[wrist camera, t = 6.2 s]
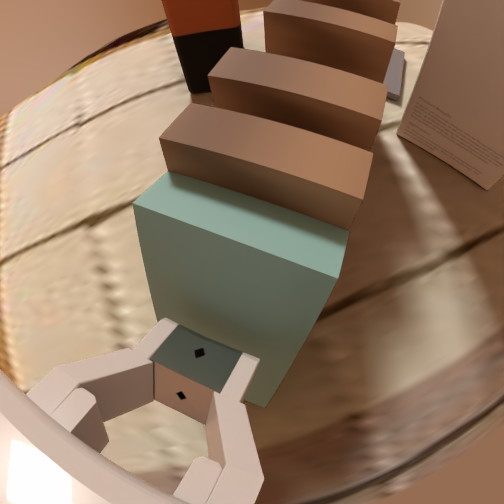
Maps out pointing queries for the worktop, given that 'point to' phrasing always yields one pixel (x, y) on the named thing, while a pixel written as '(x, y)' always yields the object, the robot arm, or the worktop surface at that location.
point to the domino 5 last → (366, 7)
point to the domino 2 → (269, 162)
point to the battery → (203, 36)
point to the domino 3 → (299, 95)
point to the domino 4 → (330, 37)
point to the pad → (394, 74)
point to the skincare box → (462, 91)
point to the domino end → (237, 270)
